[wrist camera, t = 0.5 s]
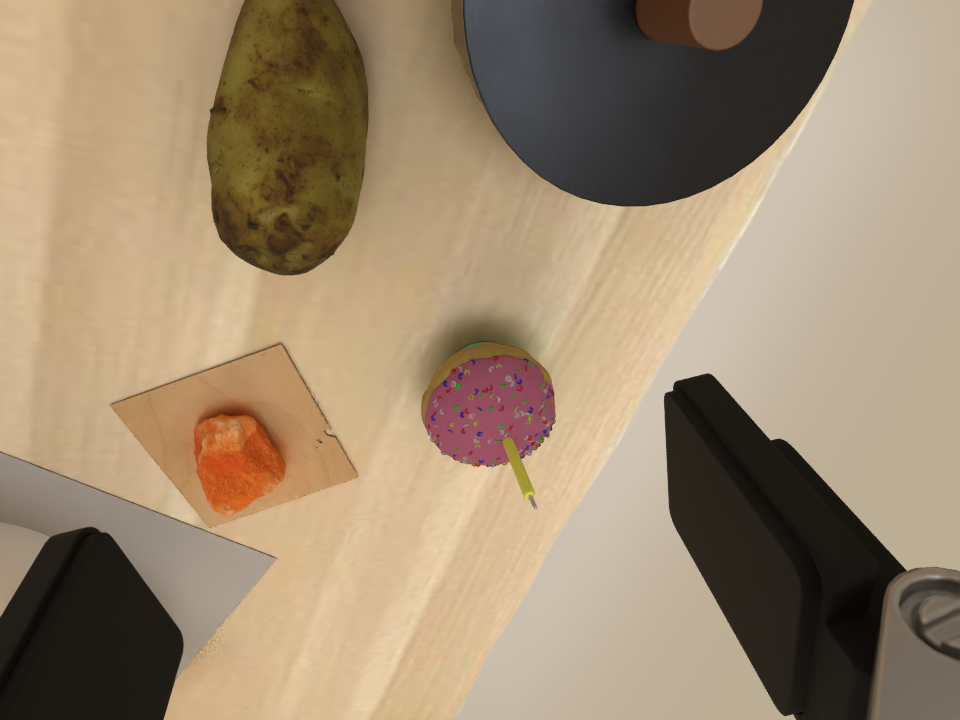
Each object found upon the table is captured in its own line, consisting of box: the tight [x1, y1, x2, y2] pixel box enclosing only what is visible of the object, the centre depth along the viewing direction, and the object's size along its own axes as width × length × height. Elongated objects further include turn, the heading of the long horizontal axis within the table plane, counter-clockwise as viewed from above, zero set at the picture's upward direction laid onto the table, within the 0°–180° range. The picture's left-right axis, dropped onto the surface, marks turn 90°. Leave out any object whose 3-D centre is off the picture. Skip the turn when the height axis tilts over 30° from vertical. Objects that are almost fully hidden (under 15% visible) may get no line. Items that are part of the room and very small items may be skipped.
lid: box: [461, 0, 854, 206], centre depth 23 cm, size 16×16×6 cm
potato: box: [207, 0, 368, 275], centre depth 30 cm, size 8×13×8 cm, turn 150°
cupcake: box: [421, 342, 556, 509], centre depth 38 cm, size 9×8×12 cm
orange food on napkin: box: [110, 344, 358, 528], centre depth 41 cm, size 12×12×4 cm
